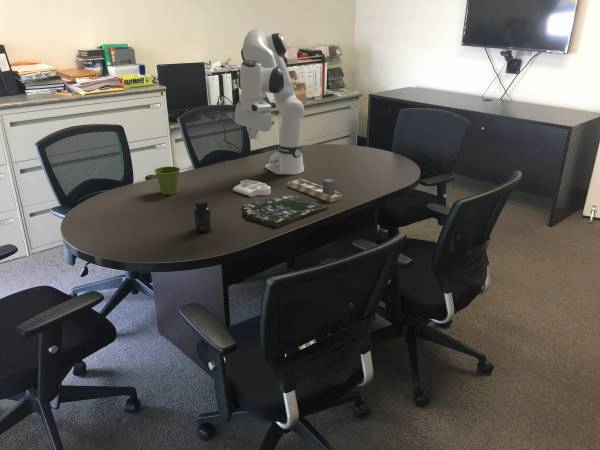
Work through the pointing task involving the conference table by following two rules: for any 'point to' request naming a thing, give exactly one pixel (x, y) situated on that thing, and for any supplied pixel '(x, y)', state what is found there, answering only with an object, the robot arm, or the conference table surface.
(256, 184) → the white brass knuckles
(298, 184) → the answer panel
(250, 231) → the conference table surface
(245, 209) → the floral canvas painting
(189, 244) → the conference table surface
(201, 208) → the supplement bottle
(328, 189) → the grey rectangular block
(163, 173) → the plant pot
